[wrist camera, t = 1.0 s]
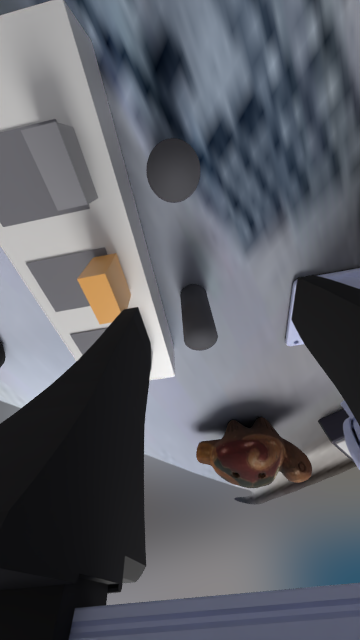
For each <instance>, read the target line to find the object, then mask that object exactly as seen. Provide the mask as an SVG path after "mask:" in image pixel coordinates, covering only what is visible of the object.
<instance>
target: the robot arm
mask: <svg viewBox="0 0 360 640" xmlns="http://www.w3.org/2000/svg"><path fill="white" fill-rule="evenodd" d="M294 341H295V342H294ZM285 343H286V344H287V346H294V345H301V344H305V345H306V347H307V348H308V349H309V351H310V352H311V354H312V355H313V356H314V358H315V359H316V360H317V362H318V363H319V365H320V366H321V367H322V369H323V370H324V371H325V373H326V374H327V375H328V377H329V378H330V379H331V381H332V382H333V384H334V385H335V386H336V388H337V389H338V391H339V392H340V394H341V395H342V397H343V398H344V401H343V402H341V405H342V407H343V408H344V410H345V411H346V413H347V414H348V415H349V418H347V419H346V420H345V421H344V423H343V431H344V436H345V442H346V445H347V448H348V450H349V453H350V455H351V457H352V458H353V460H354V462H355V464H356V465H357V467H358V468H359V470H360V268H357V269H351V270H346V271H340V272H334V273H329V274H323V275H317V276H316V275H311V276H306V277H300V278H297V280H296V281H295V282H294V283H293V289H292V296H291V303H290V311H289V318H288V326H287V333H286V340H285ZM150 371H151V342H150V340H149V337H148V334H147V331H146V328H145V325H144V322H143V320H142V317H141V314H140V311H139V308H138V307H135V308H129V309H124V310H123V311H122V312H121V313H120V314H119V315H118V316H117V317H116V318H115V320H114V321H113V322H112V323H111V324H110V325H109V327H108V328H107V329H106V330H105V331H104V332H103V334H102V335H101V336H100V337H99V338H98V339H97V340H96V342H95V343H94V344H93V345H92V346H91V347H90V348H89V349H88V350H87V351H86V352H85V353H84V354H83V355H82V356H81V357H80V358H79V359H78V361H77V362H76V363H74V364H73V365H72V366H71V367H70V368H69V369H68V370H67V371H66V372H65V373H64V374H63V375H62V376H60V377H59V378H58V379H57V380H56V381H55V382H54V383H53V384H51V385H50V386H49V387H48V388H47V389H45V390H44V391H43V392H42V393H40V394H39V395H38V396H36V397H35V398H34V399H33V400H31V401H30V402H29V403H28V404H26V405H25V406H24V407H22V408H21V409H20V410H19V411H17V412H16V413H15V414H13V415H12V416H11V417H9V418H8V419H6V420H5V421H3V422H2V423H1V424H0V640H360V583H353V584H341V585H330V586H320V587H308V588H296V589H285V590H274V591H263V592H251V593H240V594H229V595H218V596H207V597H195V598H184V599H173V600H161V601H151V602H139V603H128V604H117V605H106V600H107V593H117V592H121V589H122V583H130V582H136V581H137V580H138V579H139V577H140V576H141V574H142V573H143V571H144V569H145V567H146V553H145V524H144V523H145V522H144V424H145V412H146V404H147V396H148V388H149V379H150Z"/></svg>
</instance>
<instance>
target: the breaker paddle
mask: <svg viewBox="0 0 360 640" xmlns="http://www.w3.org/2000/svg"><path fill="white" fill-rule="evenodd" d="M77 280H78V282H79V284H80V286H81V288H82V290H83V292H84V294H85V296H86V298H87V300H88V302H89V304H90V306H91V308H92V310H93V312H94V314H95V316H96V318H97V320H98V322H99V324H106V323H112V322H113V321H114V320H115V318H116V317H117V316H118V315H119V314H120V313H121V312H122V311H123V310H124V309H128V305H129V301H130V298H131V293H130V290H129V287H128V284H127V282H126V279H125V276H124V273H123V270H122V268H121V265H120V262H119V259H118V256H117V254H116V253H114V254H109V255H104V256H99V257H94V258H92V260H91V261H90V262H89V264H88V265H87V266H86V268H85V269H84V270H83V272H82V273H81V274H80V276H79V277H78V278H77Z"/></svg>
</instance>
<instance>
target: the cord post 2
mask: <svg viewBox="0 0 360 640" xmlns="http://www.w3.org/2000/svg"><path fill="white" fill-rule="evenodd" d="M180 297H181V309H182V321H183V333H184V342H185V344H186V345H187V346H188V347H189V348H191V349H193V350H206V349H209V348H210V347H212V346H213V345H214V344H215V343H216V341H217V338H218V335H217V331H216V327H215V324H214V320H213V316H212V313H211V309H210V305H209V302H208V298H207V294H206V291H205V289H204V288H203V287H202V286H200V285H197V284H191V285H188V286H186V287H185V288H184V289H183V290H182V292H181V296H180Z"/></svg>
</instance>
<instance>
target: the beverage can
mask: <svg viewBox="0 0 360 640" xmlns="http://www.w3.org/2000/svg"><path fill="white" fill-rule="evenodd" d="M4 361H5V352H4V349H3V345H2V343H1V342H0V367H1V366H2V365H3V363H4Z"/></svg>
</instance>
